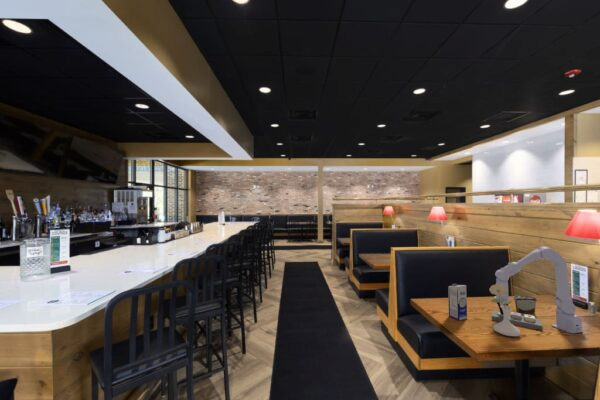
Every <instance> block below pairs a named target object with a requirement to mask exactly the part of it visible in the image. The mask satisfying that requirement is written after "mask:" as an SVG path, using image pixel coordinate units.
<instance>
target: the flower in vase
mask: <svg viewBox="0 0 600 400" xmlns="http://www.w3.org/2000/svg"><path fill="white" fill-rule="evenodd" d="M489 292H490V293H491V294H492V295H495V296H496V295H497V296H499V299H500V295H501V296H502V295H505V294H506V293H507V289H506V288H505V287H504V286H502V285H499V284H498V285H496V283H495V284H492V285H491V286H490V288H489ZM500 301H501V300H498V299H495V298H492V299H491V300H490V302H493V303H496V304H497V303H499V302H500ZM501 303H502V302H501ZM511 303H512V300H509V301H506V302H504V304H508V306H506V305H504V304H503V303H502V304H503V305H501V306H500V307H501V308H502V310H503V314H504V319H503V321H502V322H500V321H499V322H497V323H496V324H494V325H493V330H494V331H495V332H496V333H498V334H501V335H503V336H507V337H519V336H520V335H521V331H520V329H518V327H516V325H514V324H511V323H510V321H509V313H511V310H513V307H512V306H510V305H509V304H511Z"/></svg>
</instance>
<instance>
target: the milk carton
mask: <svg viewBox="0 0 600 400" xmlns="http://www.w3.org/2000/svg"><path fill="white" fill-rule="evenodd" d="M447 290H448V293H447V295H448V317H449V318H451V319H454V320H456V321H458V322H459V321H463V320H468V306H467V305H468V303H467V302H468V301H467V284H457V283H451V285H449V286H447Z"/></svg>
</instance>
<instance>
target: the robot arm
mask: <svg viewBox="0 0 600 400" xmlns="http://www.w3.org/2000/svg"><path fill="white" fill-rule="evenodd" d="M536 260H540V261H541V260H547V261H549V262H551V263H552V264H553V265H554V266H553V267H554V275H555V276H554V277H555V286H556V294H555V298H554V301H553V302H554V304H555V306H556V308H555V323H556V324H551V326H552V327H554V328H557V329H559V330H561V331H564V332H567V333H569V334H577V333H578V334H579V333H583V332H584V331H583V322H582V318H581V317H580V316H579V315H576V314H575V312H576V311H577V309H576V305H575V304H574V302H573V298H572V296H571V293H570V282H569V271H568V264H567V260H566V259H565V258H564V257H563V256H562V255H561V254H560V253H559V251H556V250H555V249H553V248H551V247H549V246H547V245H546V246H545V245H542V246H539V247H538V248H536V249H534V250H532V251H531V252H529V253H528V254H527V255H525V256H523V257H522V258H521V259H519V260H518V261H517V262H516V261H511V262H508V263H507V265H505V266H504V267H501V268H500V269H497V270H496V271H495V273H494V275H495V277H496V278H495V281H496V282H495V284H496V285H498V284H499V285H502V286H504V287H505V288H506V289H507V293H506V294H505V295H502V296H501V295H500V299H499V296H497V295H495V296H494V297H493V299H498V300H501V301H500V302H499V303H496V304H497V307H498V309H499V310H498V311H500V313H501V314H503V310H502V308H501V307H500V306H501V305H503V304H504V302H506V301H510V297H509V282H508V281H509V279H510V277H513V276H514V275H515V274H518V273H519V272H521V271H522V268H523V267H525V266H526V265H528V264H530V263H532V262H533V261H536ZM501 302H502V303H503V304H502V303H501ZM504 305H506V306H509V304H504Z"/></svg>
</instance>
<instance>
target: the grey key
mask: <svg viewBox="0 0 600 400" xmlns="http://www.w3.org/2000/svg"><path fill="white" fill-rule="evenodd" d="M510 313H511V318H514V319H519V320H521V315H522V314H521V313H517V312H516V311H514V312H513V311H510Z"/></svg>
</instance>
